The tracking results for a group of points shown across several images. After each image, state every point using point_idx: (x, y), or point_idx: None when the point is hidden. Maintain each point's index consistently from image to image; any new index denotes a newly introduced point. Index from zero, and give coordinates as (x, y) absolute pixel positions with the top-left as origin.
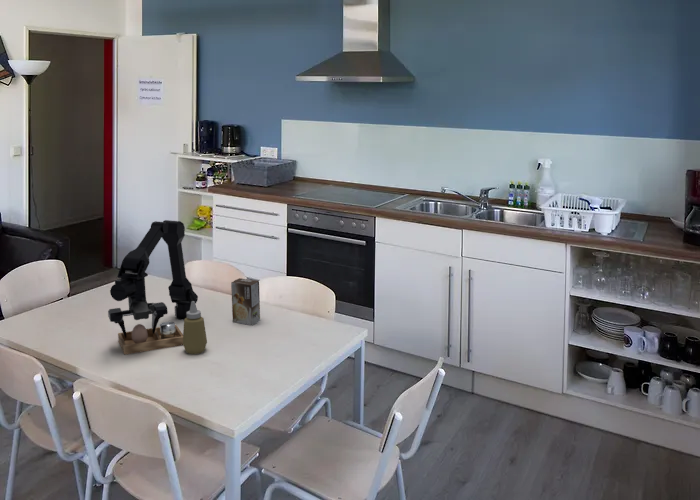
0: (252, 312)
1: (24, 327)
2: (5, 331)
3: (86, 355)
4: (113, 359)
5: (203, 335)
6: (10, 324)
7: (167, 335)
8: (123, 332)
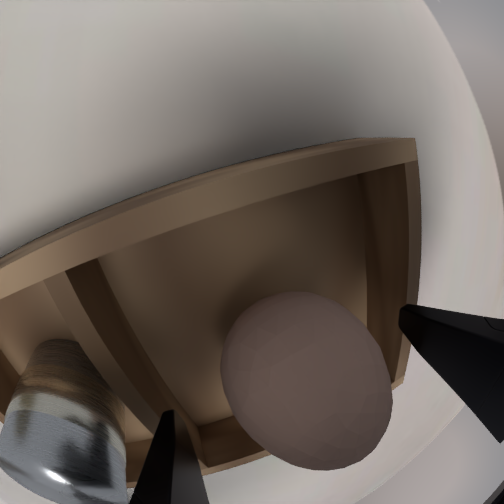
0: None
1: None
2: None
3: (470, 205)
4: (402, 110)
5: None
6: None
7: (41, 380)
8: (456, 312)
